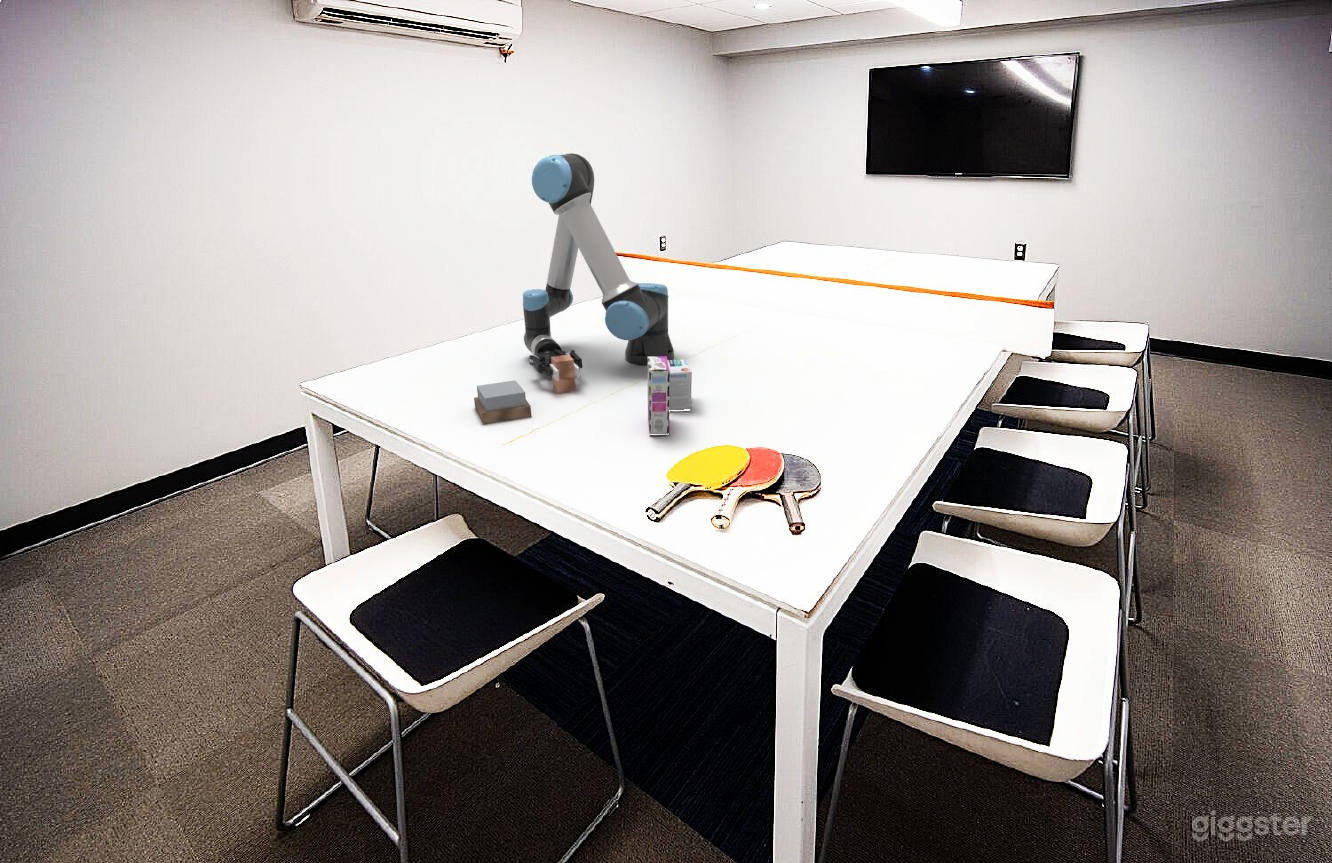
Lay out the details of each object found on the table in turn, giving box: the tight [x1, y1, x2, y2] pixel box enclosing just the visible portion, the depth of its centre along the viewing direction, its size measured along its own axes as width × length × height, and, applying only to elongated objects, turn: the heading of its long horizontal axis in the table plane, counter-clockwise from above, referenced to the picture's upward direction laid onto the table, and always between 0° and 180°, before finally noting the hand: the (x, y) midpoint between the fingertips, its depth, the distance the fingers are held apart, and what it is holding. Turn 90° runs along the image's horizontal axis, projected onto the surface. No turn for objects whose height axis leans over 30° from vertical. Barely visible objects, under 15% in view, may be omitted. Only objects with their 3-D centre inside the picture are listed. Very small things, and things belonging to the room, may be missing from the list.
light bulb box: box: [668, 358, 693, 410], centre depth 188 cm, size 11×7×11 cm, turn 5°
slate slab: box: [476, 379, 527, 412], centre depth 184 cm, size 10×10×4 cm
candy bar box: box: [647, 356, 670, 434], centre depth 173 cm, size 11×5×16 cm, turn 3°
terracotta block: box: [551, 355, 576, 395], centre depth 200 cm, size 5×5×9 cm
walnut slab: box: [473, 396, 533, 425], centre depth 186 cm, size 12×12×4 cm
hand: (568, 374), depth 194 cm, fingers closed on terracotta block, 5 cm apart
